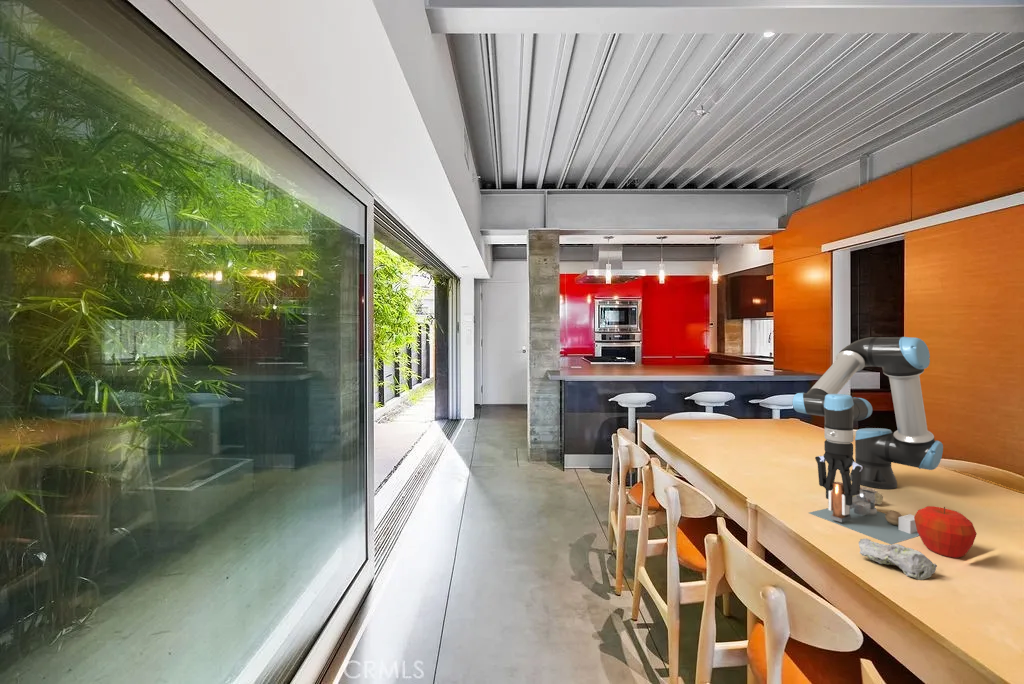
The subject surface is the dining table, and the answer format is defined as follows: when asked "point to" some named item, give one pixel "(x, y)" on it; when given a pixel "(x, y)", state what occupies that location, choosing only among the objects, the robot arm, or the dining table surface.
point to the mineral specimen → (899, 558)
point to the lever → (859, 502)
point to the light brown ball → (893, 517)
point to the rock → (877, 495)
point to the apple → (945, 531)
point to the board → (876, 525)
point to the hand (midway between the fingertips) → (838, 511)
